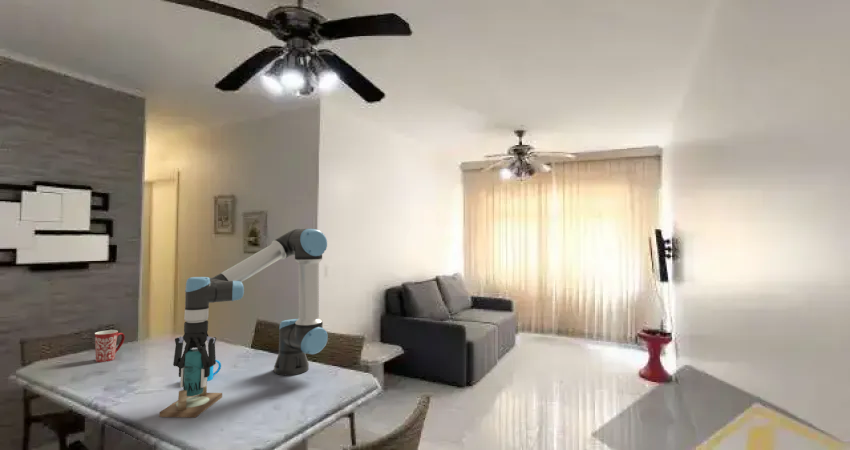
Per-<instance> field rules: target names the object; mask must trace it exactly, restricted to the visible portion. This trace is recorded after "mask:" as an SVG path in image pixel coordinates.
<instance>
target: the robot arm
mask: <svg viewBox="0 0 850 450" xmlns="http://www.w3.org/2000/svg"><path fill="white" fill-rule="evenodd" d="M325 235H326V234H324V233H323V231H321V230H319V229H317V228H316V229H315V228H297V229H292V230H290V231H288V232H286V233H285V234H282V235H281V236H279V237H277V238H275V239H274V240H272V241H271V244H270V245H268V246H267V247H264V248H262V249H261V250H259V251H257V252H255V253H254V254H252V255H251V256H248V257H247V258H245V259H243V260H241V261H240V262H238V263H236V264H235V265H233V266H230V267H229V268H228V269H226V270H224V271H222V272H221V273H219V274H216V275H215V276H213V277H208V276H191V277H189V278H187V279H186V283H185V291H184V292H185V297H184V298H185V301H184V305H185V306H184V315H183V316H184V317H183V318H184V321H185V322H184V324H183V335H182V336H178V337H175V338H174V342H175V350H174V356H173V367H177V368H178V377H179V378H180V388H184V368H185V367H184V366H185V354H186V353H187V352H188V351H189V350H192V349H193V348H190V347H189V345H190V342H192V341H195V343H196V346H197V348H196V349H198V350H199V352H200V353H201V360H202V363H203V366H204V368H202V369H201V388H203V387H205V386H206V385H207V386H208V381H207V377H208V376H209V375H210V367H212V366H213V367H214V366H215V365H216V363H217V362H216V360H217V359H216V342H217V337H216V336H214V337H212V336H210V335H209V334H208V331H209V321H208V319H209V312H210V311H209V310H210V309H209V308H210V304H212V303H222V302H223V303H224V302H234V301H240V300H242V299H243V297H244V294H245V286H244V283H243V282H244V281H246V280H247V279H249V278H251V277H253V276H255V275H256V274H258V273H260V272H261V271H263V270H265V269H266V268H267V267H269V266H271V265H272V264H274V263H276V262H278V261H279V260H286V259H287V258H289V257H292V256H294V261H295V262H296V263H298V318H292V319H286V320H281V322H280V323H279V328H278V332H279V333H278V354H277V358H276V360H275V363H274V366H273V372H274V374H277V375H281V376H290V375H291V376H293V375H300V374H303V373H305V372H308V371H309V367H310V366H309V361H308V357H307V355H306V354H308V355H316V354H319V353H321V352H322V350H323V349H324V348H325V347H326V345H327V344H328V332H327V330H325V328H323V326H324V325H323V324H324V323H323V319H322V318H321V317H320V262H321V261H322V260H323V254H324V253H325V251H326V250H327V247H328V240H327V237H326V236H325ZM184 342H185V345H184ZM206 342H207V344H208V345H206ZM183 347H184V348H183ZM183 349H184V350H183Z"/></svg>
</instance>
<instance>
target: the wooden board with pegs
mask: <svg viewBox="0 0 850 450" xmlns="http://www.w3.org/2000/svg"><path fill="white" fill-rule="evenodd" d="M207 388H208V384H207V385H206V386H205V387H204V388H203V392H202V393H201V394H199V395H195V396H187V390H183V389H182V390H179V391H178V396H177V397H178V400H176V401H175V402H173V403H171V404H170V405H169V406H167V407H165V408H163V409H162V410H161V411H159V416H158V417H159V418H197V417H199V415H201V414H202V413H203V412H205V411H206V410H207V409H208V408H210V407H211V406H213V405H214V404H216V402H218V401H220V399H222V398H223V392H207V391H208V389H207Z"/></svg>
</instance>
